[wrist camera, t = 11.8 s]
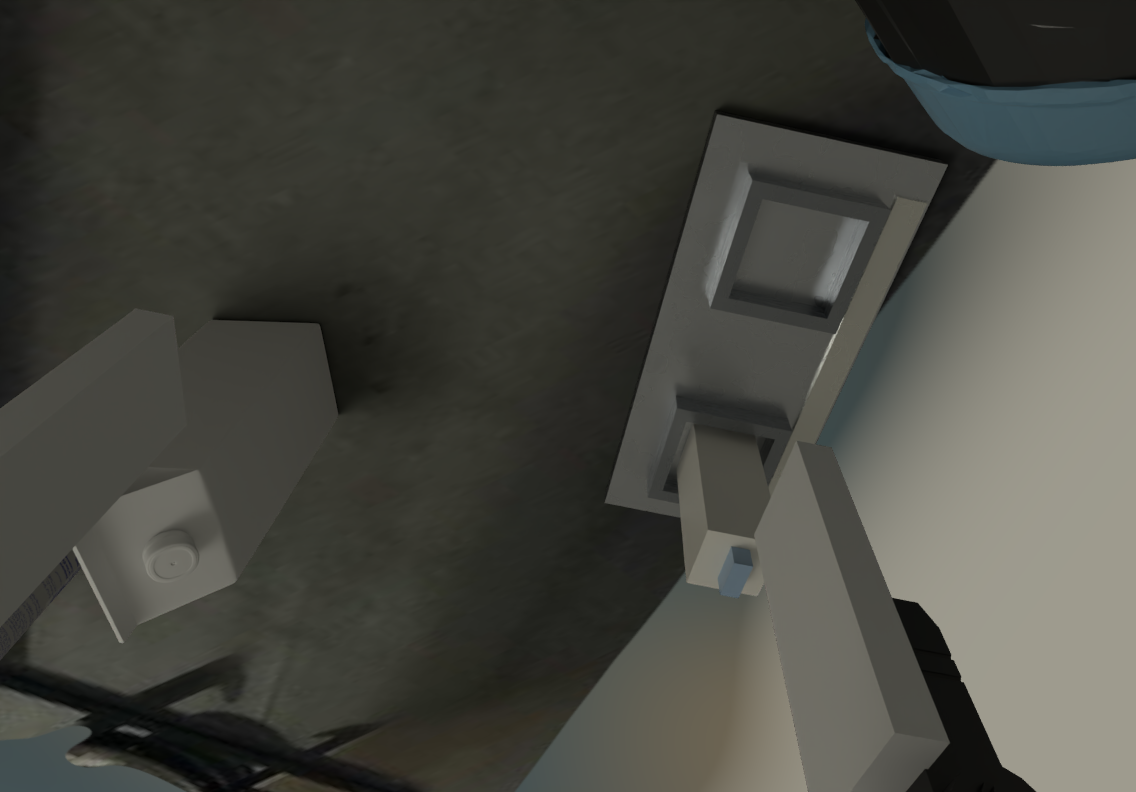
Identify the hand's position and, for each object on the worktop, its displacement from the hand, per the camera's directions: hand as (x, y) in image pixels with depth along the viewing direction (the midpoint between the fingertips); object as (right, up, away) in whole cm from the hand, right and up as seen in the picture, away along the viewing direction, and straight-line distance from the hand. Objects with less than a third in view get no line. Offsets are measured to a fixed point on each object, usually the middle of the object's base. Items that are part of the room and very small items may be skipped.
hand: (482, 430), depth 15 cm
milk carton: (-17, +3, +32) cm, 36 cm away
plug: (+11, -3, +31) cm, 33 cm away
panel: (+13, +3, +28) cm, 31 cm away
